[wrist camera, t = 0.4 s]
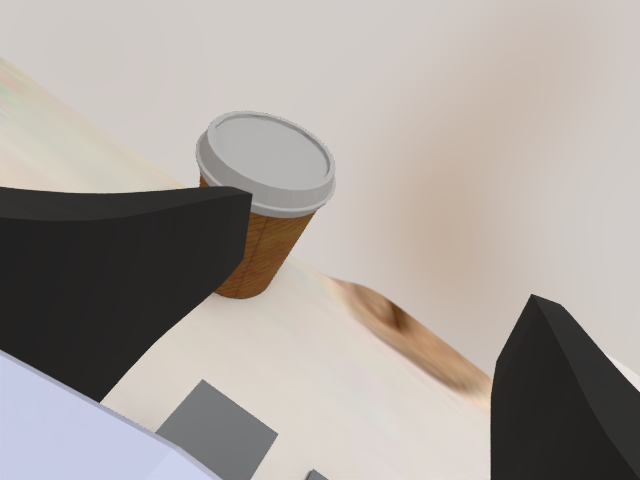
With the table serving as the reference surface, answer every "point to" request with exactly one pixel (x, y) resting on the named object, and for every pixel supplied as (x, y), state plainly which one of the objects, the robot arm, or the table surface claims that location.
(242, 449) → the grey and green block
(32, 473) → the robot arm
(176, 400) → the table surface
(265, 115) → the disposable coffee cup
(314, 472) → the drawing mat
